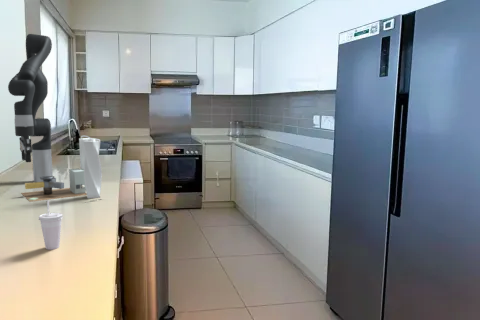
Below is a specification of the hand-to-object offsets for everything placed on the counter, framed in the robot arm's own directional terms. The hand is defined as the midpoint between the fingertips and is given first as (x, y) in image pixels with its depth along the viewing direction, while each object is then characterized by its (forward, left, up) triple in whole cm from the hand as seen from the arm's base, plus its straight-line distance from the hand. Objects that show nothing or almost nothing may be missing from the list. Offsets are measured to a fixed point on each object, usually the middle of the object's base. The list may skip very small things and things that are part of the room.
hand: (26, 161), depth 198 cm
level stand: (+12, +19, -14) cm, 26 cm away
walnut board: (+11, +9, -15) cm, 21 cm away
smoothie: (+83, -8, -16) cm, 85 cm away
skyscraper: (+26, +21, -16) cm, 37 cm away
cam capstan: (+10, +4, -14) cm, 18 cm away
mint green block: (+17, -1, -14) cm, 22 cm away
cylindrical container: (+8, +25, -16) cm, 31 cm away
